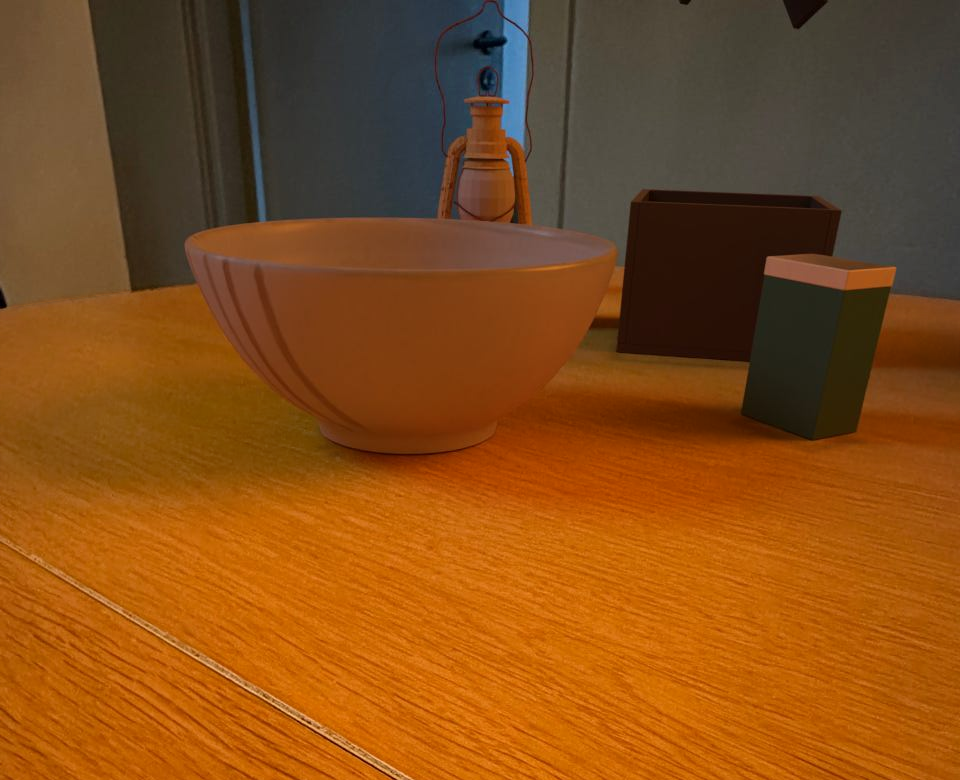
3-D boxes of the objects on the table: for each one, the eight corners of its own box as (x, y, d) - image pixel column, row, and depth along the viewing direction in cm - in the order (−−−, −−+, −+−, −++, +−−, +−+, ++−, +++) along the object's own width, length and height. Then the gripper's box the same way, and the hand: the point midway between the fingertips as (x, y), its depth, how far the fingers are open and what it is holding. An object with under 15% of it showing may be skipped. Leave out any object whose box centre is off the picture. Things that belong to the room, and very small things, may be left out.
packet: (783, 406, 69) (813, 253, 64) (857, 432, 64) (897, 267, 58) (739, 414, 67) (766, 256, 62) (812, 440, 62) (849, 270, 56)
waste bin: (793, 328, 96) (818, 195, 90) (810, 365, 81) (842, 210, 75) (629, 317, 99) (642, 189, 93) (616, 352, 84) (630, 201, 78)
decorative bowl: (137, 478, 53) (97, 256, 47) (286, 370, 76) (272, 211, 69) (594, 512, 50) (616, 280, 44) (604, 388, 73) (620, 225, 67)
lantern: (437, 296, 108) (436, -9, 93) (433, 283, 117) (432, 2, 102) (535, 297, 109) (550, -4, 94) (524, 284, 118) (537, 6, 103)
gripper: (723, -173, 76) (811, 59, 75) (497, -265, 61) (604, 21, 61) (795, -266, 69) (892, -14, 69) (563, -392, 55) (683, -76, 55)
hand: (757, 3), depth 65 cm, fingers open, 13 cm apart
